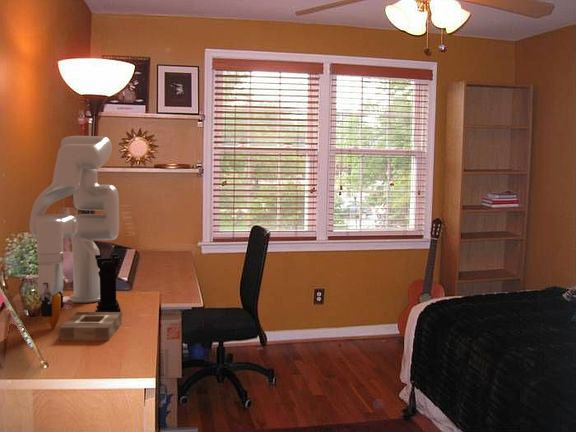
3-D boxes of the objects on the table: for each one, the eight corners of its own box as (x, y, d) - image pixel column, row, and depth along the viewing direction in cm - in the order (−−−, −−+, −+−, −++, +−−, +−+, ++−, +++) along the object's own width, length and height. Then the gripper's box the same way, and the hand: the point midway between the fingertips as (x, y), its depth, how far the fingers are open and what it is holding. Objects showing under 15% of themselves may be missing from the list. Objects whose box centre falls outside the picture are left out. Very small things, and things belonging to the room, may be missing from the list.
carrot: (56, 331, 187) (54, 283, 186) (41, 330, 188) (39, 282, 187) (65, 326, 192) (63, 280, 190) (50, 325, 193) (49, 279, 191)
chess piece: (121, 316, 204) (120, 257, 202) (97, 318, 201) (95, 259, 199) (119, 310, 212) (118, 253, 209) (95, 312, 209) (93, 254, 206)
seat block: (77, 324, 195) (77, 311, 195) (121, 324, 196) (121, 311, 195) (60, 340, 179) (60, 326, 179) (108, 340, 180) (108, 326, 179)
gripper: (48, 252, 196) (50, 304, 198) (27, 263, 179) (29, 320, 181) (72, 252, 196) (73, 304, 198) (53, 263, 179) (55, 320, 181)
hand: (52, 312), depth 189 cm, fingers open, 9 cm apart
